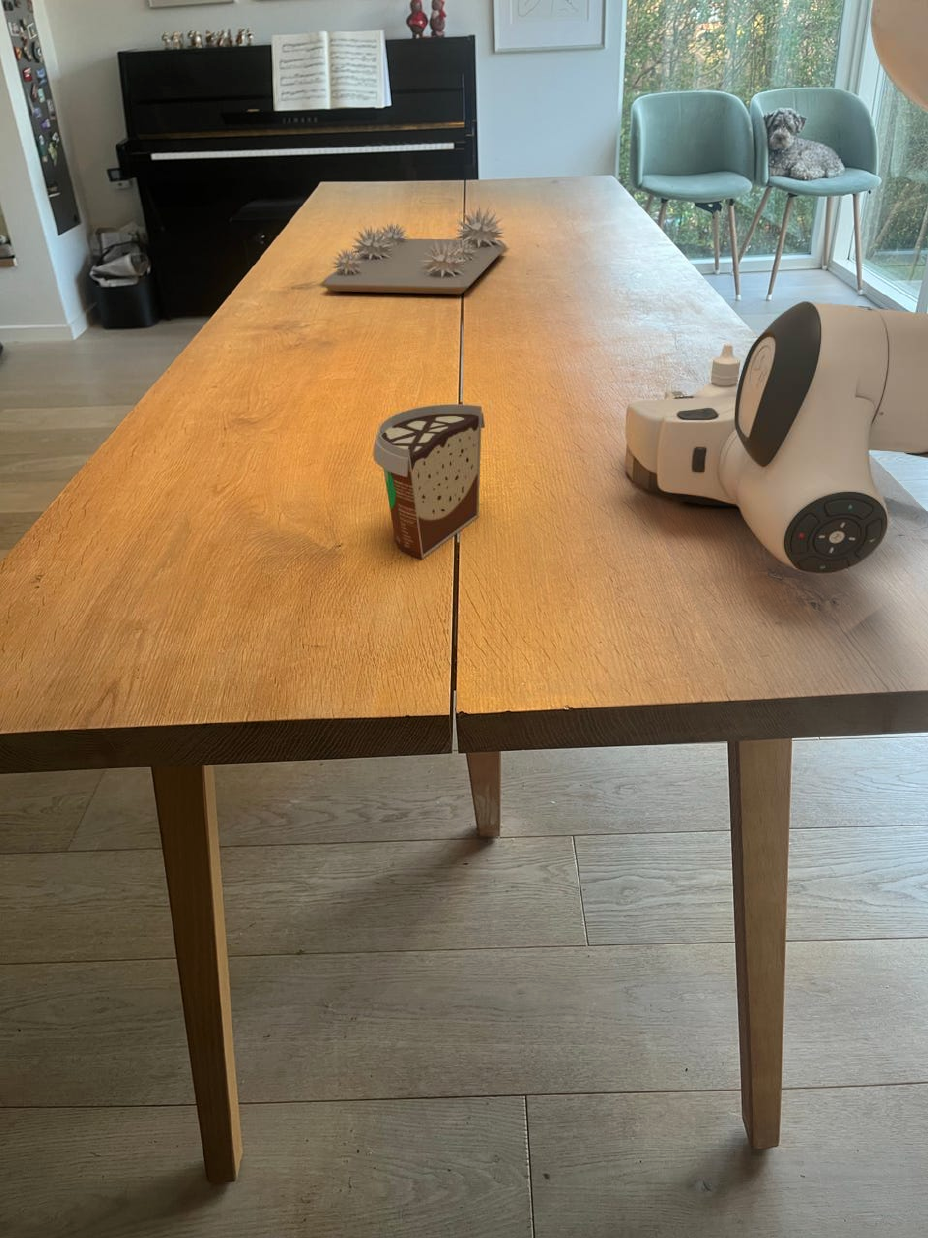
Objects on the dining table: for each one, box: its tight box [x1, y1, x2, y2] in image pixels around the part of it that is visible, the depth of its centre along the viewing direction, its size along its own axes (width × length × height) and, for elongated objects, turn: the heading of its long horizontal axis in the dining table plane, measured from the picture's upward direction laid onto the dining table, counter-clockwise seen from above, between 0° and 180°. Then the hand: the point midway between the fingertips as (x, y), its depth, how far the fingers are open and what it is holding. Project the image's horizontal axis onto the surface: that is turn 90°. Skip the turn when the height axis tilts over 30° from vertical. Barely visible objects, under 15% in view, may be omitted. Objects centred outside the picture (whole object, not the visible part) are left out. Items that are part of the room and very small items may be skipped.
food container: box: [372, 403, 486, 560], centre depth 84 cm, size 12×6×10 cm, turn 149°
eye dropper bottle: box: [693, 343, 741, 398], centre depth 92 cm, size 4×6×12 cm
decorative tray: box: [321, 205, 507, 295], centre depth 174 cm, size 35×26×10 cm
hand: (721, 397), depth 92 cm, fingers open, 8 cm apart
